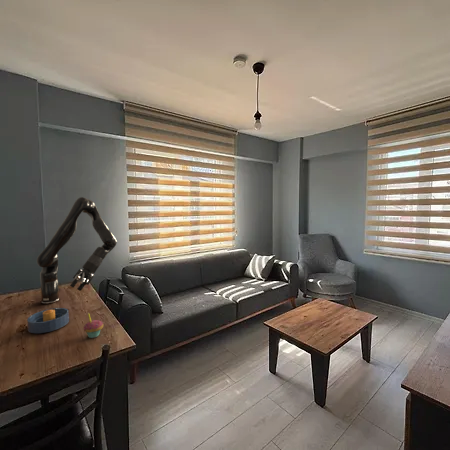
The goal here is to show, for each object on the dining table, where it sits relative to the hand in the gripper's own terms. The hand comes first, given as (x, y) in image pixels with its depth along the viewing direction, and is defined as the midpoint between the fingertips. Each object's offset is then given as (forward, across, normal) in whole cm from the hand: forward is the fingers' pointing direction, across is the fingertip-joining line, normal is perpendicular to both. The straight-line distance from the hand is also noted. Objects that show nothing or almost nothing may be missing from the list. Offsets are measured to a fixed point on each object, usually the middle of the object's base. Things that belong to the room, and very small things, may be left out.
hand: (75, 288), depth 140 cm
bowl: (+21, -1, 0) cm, 21 cm away
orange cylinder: (+21, -1, 0) cm, 21 cm away
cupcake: (+15, -30, -6) cm, 34 cm away
